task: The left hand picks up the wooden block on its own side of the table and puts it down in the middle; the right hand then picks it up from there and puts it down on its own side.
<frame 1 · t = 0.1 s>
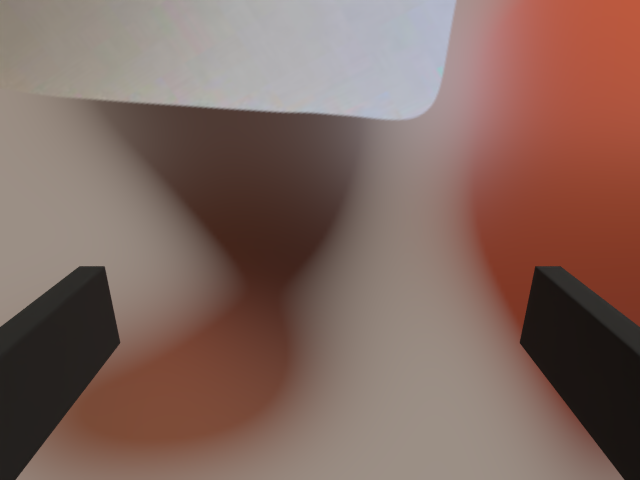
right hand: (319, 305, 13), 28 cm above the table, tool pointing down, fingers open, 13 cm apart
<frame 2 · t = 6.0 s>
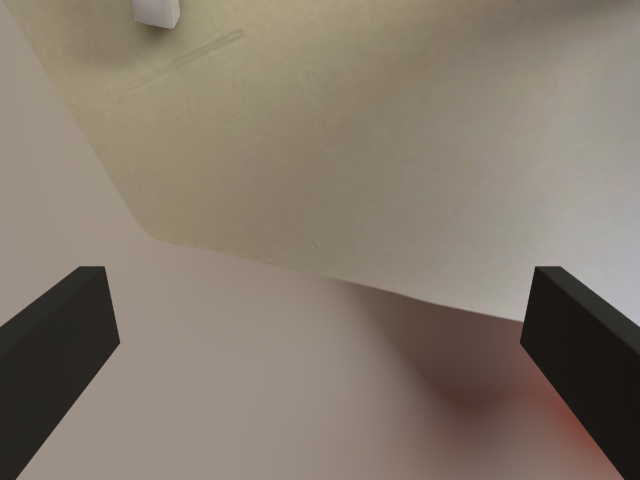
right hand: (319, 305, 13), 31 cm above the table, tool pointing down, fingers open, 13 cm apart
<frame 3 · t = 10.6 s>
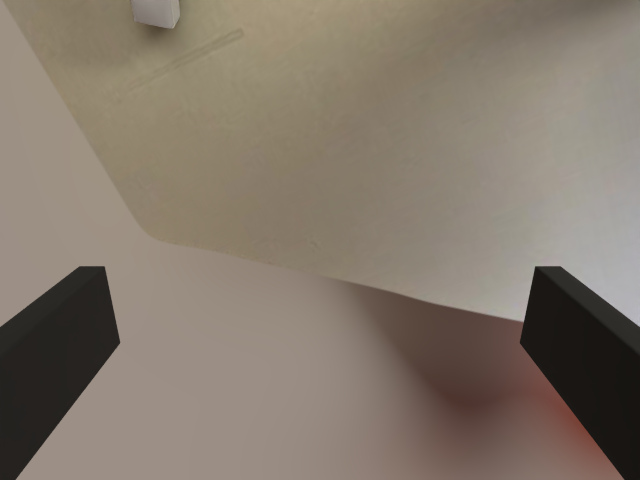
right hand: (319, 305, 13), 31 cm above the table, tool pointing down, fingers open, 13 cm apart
when the left hand's fingers open (4 cm above the table, at t = 15.6 s): block drops 2 cm, on the table.
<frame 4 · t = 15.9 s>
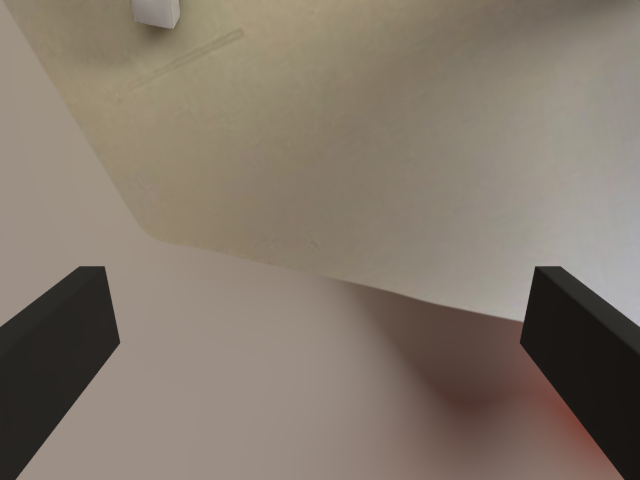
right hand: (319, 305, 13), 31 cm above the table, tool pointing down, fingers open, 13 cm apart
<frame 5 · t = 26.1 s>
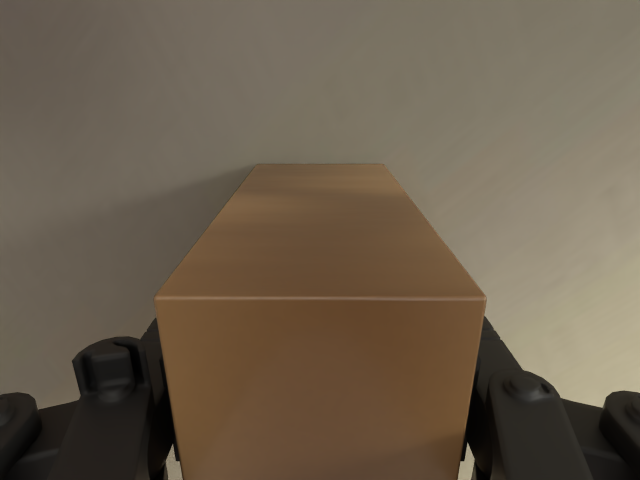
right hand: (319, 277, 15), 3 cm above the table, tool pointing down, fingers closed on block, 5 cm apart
block: (320, 247, 17), on the table, touching right hand
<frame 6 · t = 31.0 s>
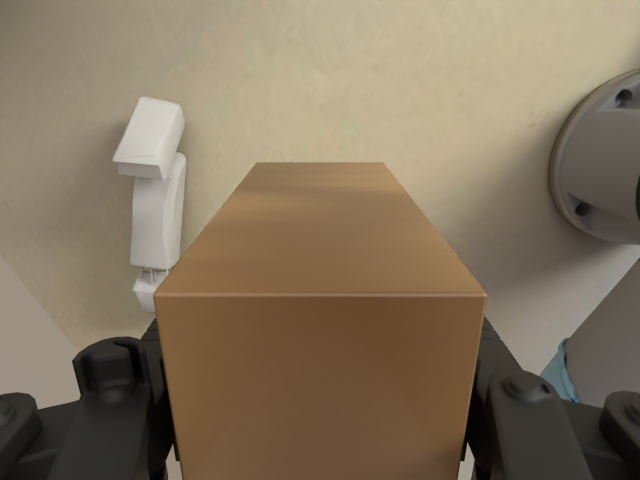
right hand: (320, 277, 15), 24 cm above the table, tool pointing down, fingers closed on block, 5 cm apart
block: (320, 246, 17), point 22 cm above the table, touching right hand
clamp: (167, 209, 39), on the table
when the right hand's fingers open (4 cm above the table, at t = 35.9 s): block drops 2 cm, on the table.
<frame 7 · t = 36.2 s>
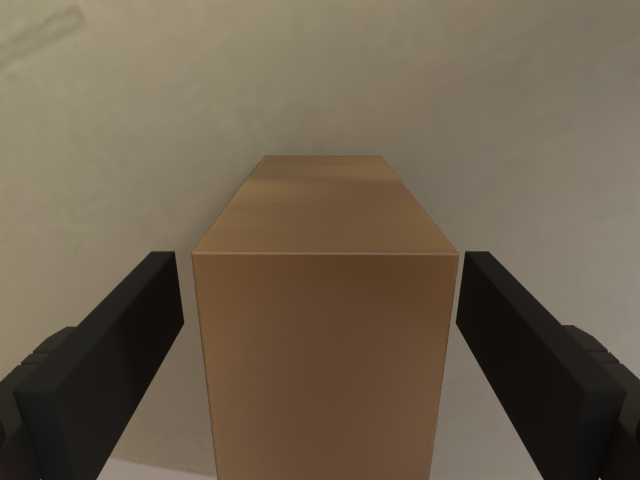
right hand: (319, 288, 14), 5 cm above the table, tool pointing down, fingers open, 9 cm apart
block: (322, 233, 19), on the table
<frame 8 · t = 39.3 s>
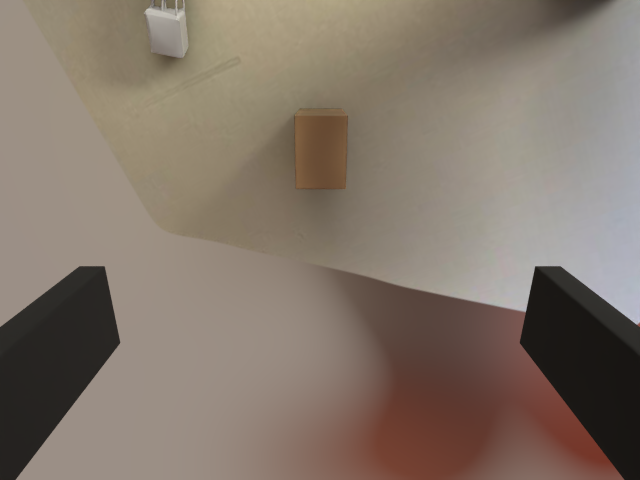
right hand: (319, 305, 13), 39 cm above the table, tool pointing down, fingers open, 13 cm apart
block: (320, 139, 49), on the table
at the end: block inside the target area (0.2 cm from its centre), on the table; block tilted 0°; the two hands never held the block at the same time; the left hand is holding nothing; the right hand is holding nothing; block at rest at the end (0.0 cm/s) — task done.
